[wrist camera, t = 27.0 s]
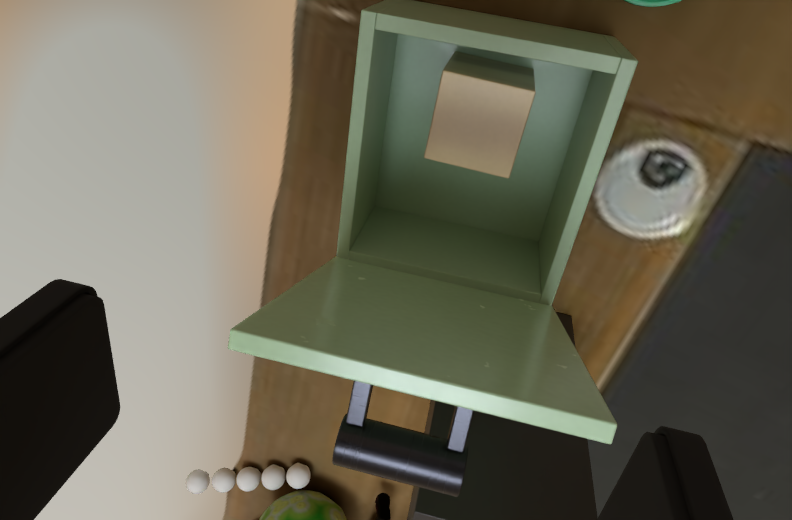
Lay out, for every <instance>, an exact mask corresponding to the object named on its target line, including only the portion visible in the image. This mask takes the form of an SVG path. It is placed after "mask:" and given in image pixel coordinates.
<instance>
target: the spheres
mask: <svg viewBox="0 0 792 520" xmlns="http://www.w3.org/2000/svg"><path fill="white" fill-rule="evenodd" d="M235 476H236V474H235V471H233V470H229V469H228V468H222V469H220V470H218V471H217V472H216V473H215V474H214V476H213V478H212V485H213V487H214V489H215V490H216V491H218V492H223V493H224V492H228V491H229V490H231V489H232V488H233V486H234V485H235V481H236V478H235ZM310 476H311V474H310V470H309V468H308V466H306V465H303V464H301V463H296V464H294V465H292V466H291V467H290V468H289V469H288V471H287V475H286V479H287V482H288V484H289V485H290V486H291V487H292V488H295V489H301V488H303V487H305V486H306V485H307V484H308V483H309V481H310ZM260 479H262V483H263V485H264V487H265V488H267V489H269V490H276V489H279V488H280V487H281V486H282V485H283V484H284V482H285V471H284V468H283V467H279V466H277V465H274V464H273V465H270V466H269V467H267V468H266V469H265V470H264V471H263V473H262V478H261V472H259V471H258V469H256V468H253V467H246V468H243V469H242V470H241V471H240V472H239V473H238V475H237V485H238V487H239V488H240V489H241V490H243V491H252V490H254V489H255V488H256V487H257V486H258V485H259V483H260ZM208 485H209V474H208V473H207V472H204V471H202V470H195V471H193V472H192V473H190V474H189V475H188V477H187V479H186V487H187V489H188V490H189V491H190V492H191V493H194V494H199V493H202V492H203V491H205V490H206V489H207V487H208Z"/></svg>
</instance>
